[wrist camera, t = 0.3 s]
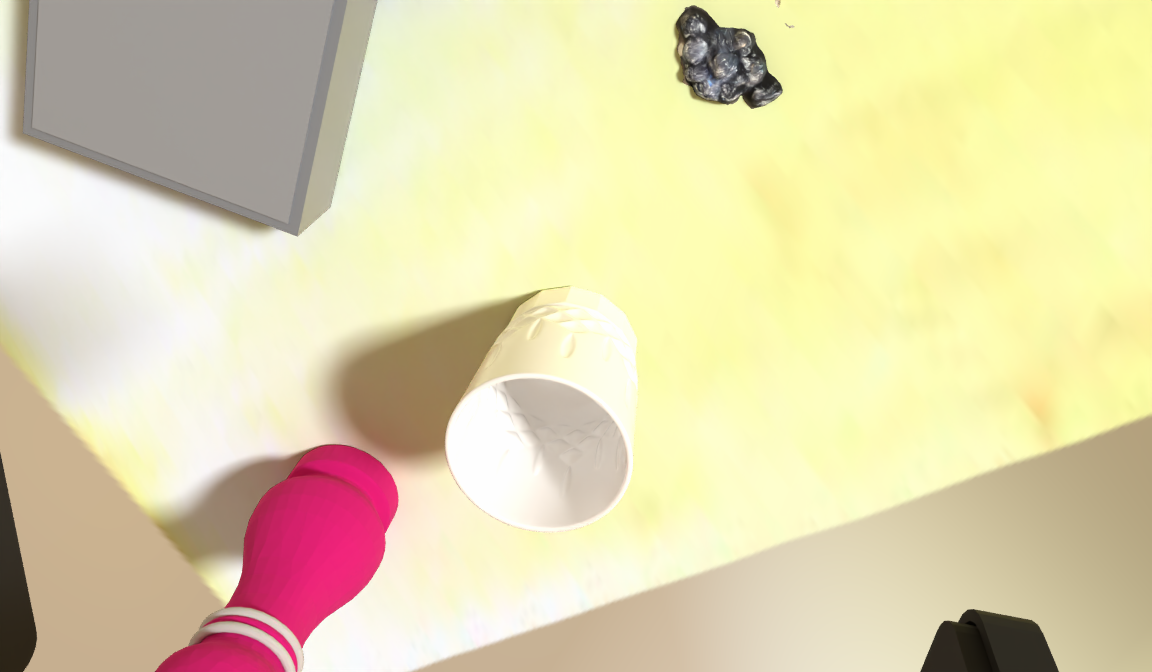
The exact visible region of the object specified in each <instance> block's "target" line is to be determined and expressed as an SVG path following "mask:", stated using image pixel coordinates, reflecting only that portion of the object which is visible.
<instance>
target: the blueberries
mask: <svg viewBox="0 0 1152 672" xmlns="http://www.w3.org/2000/svg"><path fill="white" fill-rule="evenodd" d="M775 3H776V5H777V7H778V8H779V6H780V0H776V1H775ZM785 24H786V23H785ZM786 25H787V24H786ZM676 26H677V29H678V31H679V44H678V48H677V51H678V53H679V55H680V58H681V65H682V67H683V74H684V80H683V83H684V84H686V85H689V86H692V88H693V90H694V92H695V93H696V95H698V96H700V97H702V98H703V99H706V100H713V101H718V102H721V103H724V104H727V105H728V104H733V103H735V102H737V100H738V99H739V97H740V96H743V99H744V100H745V102H746V103H747V104H748V105H749V106H750V108H751V109H754V108H757V107H761V106H765V105H766V104H768V103H770V102H772V101H774V100H775V99H776V98H778V97H779V96H780V95H781V94H782V87H781V84H780V83H779V82H778V80H777V79H776V78H775V77H773V76H772V75H771V74H770V73H769V72H768V70H767V66H766V60H765V56H764V54H763V52H762V51H761V50H760V49H759V47H758V46H757V44H756V39H755V36H754V34H753V33H750V32H749V31H747V30H746V29H737V28H724V27H719V26H718V25H717V23H716V22H715V21H714V20H713V19H712V17H711V16H710V15H709V14H708V13H707V12H706V11H705V10H703V9H702V8H699V7H697V6H695V5H693V6H690V7H685V11H684V12H683V13H682V14H681V16H680V17H679V19H678V21H677V23H676ZM787 26H788V25H787ZM788 27H789V28H791V27H793V28H794V26H793V25H792V26H788Z"/></svg>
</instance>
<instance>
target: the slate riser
mask: <svg viewBox="0 0 1152 672" xmlns="http://www.w3.org/2000/svg"><path fill="white" fill-rule="evenodd" d="M376 4H377V0H29V19H28V39H27V59H26V80H25V100H24V121H23V133H24V134H27V135H29V136H32V137H35V138H37V139H40V140H43V141H45V142H48V143H51V144H53V145H56V146H59V147H61V148H64V149H67V150H69V151H72V152H75V153H77V154H80V155H83V156H85V157H88V158H91V159H93V160H96V161H98V162H101V163H104V164H106V165H109V166H112V167H114V168H117V169H120V170H122V171H125V172H128V173H130V174H133V175H136V176H138V177H141V178H144V179H146V180H149V181H152V182H154V183H157V184H160V185H162V186H165V187H168V188H170V189H173V190H176V191H178V192H181V193H183V194H186V195H189V196H191V197H194V198H197V199H199V200H202V201H205V202H207V203H210V204H213V205H215V206H218V207H221V208H223V209H226V210H229V211H231V212H234V213H237V214H239V215H242V216H245V217H247V218H250V219H253V220H255V221H258V222H261V223H263V224H266V225H269V226H271V227H274V228H276V229H279V230H282V231H284V232H287V233H290V234H292V235H295V236H299V235H300V234H301V233H302V232H303V231H304V230H305V229H307V228H308V227H309V226H310V225H311V224H312V223H313V222H314V221H315V220H317V219H318V218H319V217H320V216H321V215H322V214H323V213H324V212H326V211H327V210H328V209H329V208H330V207H331V203H332V198H333V194H334V189H335V185H336V181H337V176H338V172H339V167H340V163H341V159H342V154H343V150H344V145H345V141H346V137H347V132H348V128H349V123H350V119H351V114H352V110H353V106H354V101H355V97H356V92H357V88H358V84H359V79H360V75H361V70H362V66H363V62H364V57H365V53H366V48H367V44H368V40H369V35H370V31H371V26H372V22H373V18H374V13H375V9H376Z"/></svg>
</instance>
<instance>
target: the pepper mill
mask: <svg viewBox="0 0 1152 672" xmlns="http://www.w3.org/2000/svg"><path fill="white" fill-rule="evenodd" d="M397 507H398V492H397V487H396V485H395V482H394V480H393V478H392V476H391V474H390V473H389V472H388V471H387V470H386V468H385V467H384V466H383V465H382V464H381V462H379V461H378V460H376V459H375V458H374V457H372V456H371V455H369V454H368V453H366V452H363V451H361V450H359V449H356V448H354V447H348V446H343V445H326V446H322V447H318V448H316V449H314V450H311V451H310V452H308V453H307V454H305V455H304V456H303V457H302V458H301V459H300V461H299V462H298V463H297V465H296V466H295V468H294V469H293V470H292V472H291V473H290V475H289V476H288V478H287V480H285V481H282V482H280V483H278V484H277V485H275V486H274V487H272V488H271V489H269V491H268V492H267V493H266V494H265V495H264V496H263V497H262V498H261V500H260V501H259V503H258V505H257V507H256V508H255V510H254V512H253V514H252V516H251V518H250V520H249V523H248V526H247V530H246V534H245V538H244V552H243V568H242V575H241V578H240V581H239V584H238V586H237V588H236V590H235V592H234V594H233V596H232V597H231V599H230V601H229V603H228V604H227V605H226V607H225V608H223V609H221V610H218V611H216V612H214V613H212V614H210V615H209V616H208V617H207V618H206V619H205V620H204V621H203V622H202V624H201V626H200V628H199V630H198V631H197V632H196V634H195V635H194V636H193V637H192V639H191V640H190V643H189V646H188V647H185V648H183V649H181V650H179V651H177V652H175V653H173V654H172V655H171V656H170V657H168V658H167V659H166V660H165V661H164V662H163V663H162V664H161V665H160V666H159V667H158V669H157V670H156V671H155V672H301V671H302V669H303V664H304V656H303V650H302V648H303V645H304V643H305V641H306V640H307V638H308V637H309V635H310V634H311V632H312V631H313V630H314V629H315V628H316V627H317V626H318V625H319V624H320V623H321V622H322V621H323V620H324V619H325V618H326V617H327V616H329V615H330V614H332V613H333V612H335V611H336V610H337V609H339V608H340V607H342V606H343V605H345V604H346V603H348V602H349V601H350V600H352V599H353V598H354V597H355V596H356V595H357V594H358V593H359V592H360V591H361V590H362V589H363V588H364V587H365V586H366V585H367V584H368V583H369V581H370V580H371V579H372V577H373V575H374V574H375V572H376V571H377V569H378V567H379V565H380V563H381V561H382V559H383V555H384V552H385V544H386V543H385V533H386V531H387V529H388V527H389V525H390V523H391V521H392V519H393V518H394V516H395V513H396V510H397Z"/></svg>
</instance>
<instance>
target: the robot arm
mask: <svg viewBox="0 0 1152 672" xmlns="http://www.w3.org/2000/svg"><path fill="white" fill-rule="evenodd" d="M36 641H37V632H36V627H35V622H34V617H33V612H32V607H31V602H30V597H29V592H28V587H27V583H26V577H25V572H24V567H23V562H22V557H21V553H20V548H19V543H18V538H17V533H16V528H15V523H14V518H13V513H12V508H11V503H10V498H9V494H8V488H7V483H6V478H5V473H4V469H3V464H2V459H1V454H0V672H23V671H24V669H25V668H26V666H27V665H28V664H29V662H30V660H31V658H32V656H33V653H34V650H35V647H36ZM921 672H1059V671H1058V668H1057V666H1056V664H1055V661H1054V659H1053V656H1052V654H1051V652H1050V649H1049V647H1048V644H1047V642H1046V640H1045V637H1044V635H1043V633H1042V631H1041V630H1040V628H1039V626H1038V625H1037V624H1036V623H1035V622H1033V621H1032V620H1028V619H1022V618H1016V617H1012V616H1006V615H1001V614H996V613H990V612H985V611H980V610H974V609H971V610H967V611H966V612H965V613H963V614H962V616H961V618H960V620H959V622H952V621H944V622H943V623H942V624H941V625H940V627H939V629H938V630H937V633H936V635H935V638H934V640H933V643H932V645H931V647H930V650H929V652H928V654H927V657H926V659H925V662H924V664H923V667H922V669H921Z"/></svg>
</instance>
